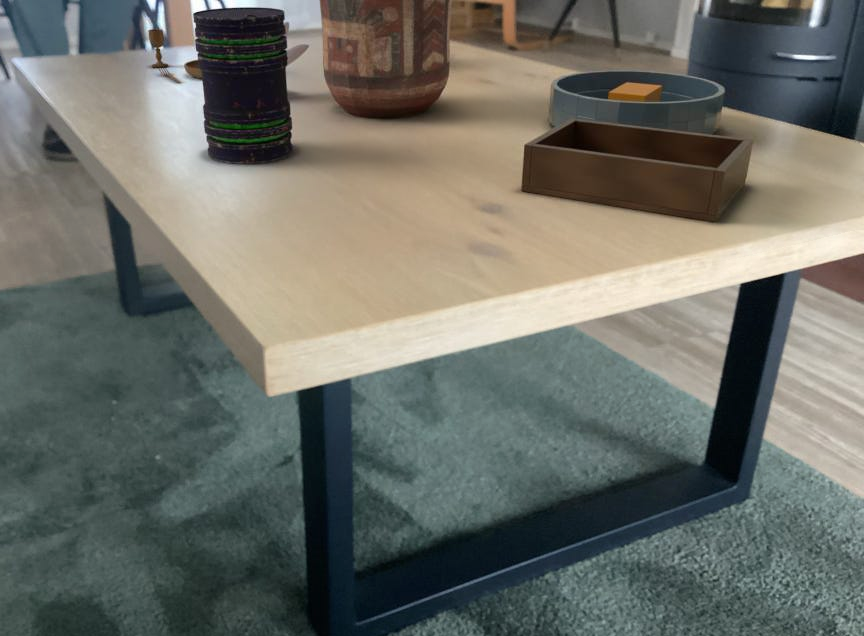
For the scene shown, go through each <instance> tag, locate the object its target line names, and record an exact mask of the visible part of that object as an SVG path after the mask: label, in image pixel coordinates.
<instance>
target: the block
mask: <svg viewBox="0 0 864 636" xmlns="http://www.w3.org/2000/svg"><path fill="white" fill-rule="evenodd" d="M661 90H662V86H661V85H650V84H640V83H629V82H627V83H625V84H623V85H621V86H619V87H617V88H616V89H614V90H612V91H610V92H609V95H608V100H618V101H634V102H660V97H661Z"/></svg>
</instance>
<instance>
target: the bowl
mask: <svg viewBox="0 0 864 636" xmlns="http://www.w3.org/2000/svg"><path fill="white" fill-rule="evenodd" d="M627 82H629V83H640V84H650V85H661V86H662V90H661V97H660V102H634V101H618V100H608V95H609V92H610V91H612V90H614V89H616V88H617V87H619V86H621V85H623V84H625V83H627ZM549 91H550V92H549V103H548V104H549V105H548V106H549V107H548V115H547V117H548V119H547V120H548V121H549V123H550V125H551V126H553V127H554V128H555V127H557V126H559V125H560V124H562V123H564V122H566V121H568V120H569V119H571V118H572V119H581V120H589V121H598V122H607V123H615V124H624V125H632V126H641V127H650V128H658V129H667V130H675V131H684V132H693V133H701V134H710V135H714V134H715V132H717V131H718V130H719V129H720V123H721V117H722V112H723V106H724V102H725V101H724V99H725V94H726V90H725V87H724V86H723V85H721V84H719V83H718V82H715V81H713V80H709V79H707V78H702V77H697V76H693V75H688V74H680V73H673V72H664V71H652V70H634V69H633V70H630V69H629V70H628V69H627V70H626V69H625V70H624V69H623V70H619V69H617V70H614V69H613V70H592V71H583V72H574V73H570V74H565V75H561V76H559V77H556V78H555V79H553V80H552V82H551V83H550V90H549Z"/></svg>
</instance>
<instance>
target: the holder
mask: <svg viewBox="0 0 864 636" xmlns="http://www.w3.org/2000/svg"><path fill="white" fill-rule="evenodd" d="M753 145H754V139H752V138H743V137H734V136H725V135H717V134H716V135H715V134H711V135H710V134H701V133H693V132H684V131H675V130H667V129H658V128H650V127H641V126H632V125H624V124H615V123H607V122H598V121H589V120H581V119H572V118H571V119H569V120H568V121H566V122H564V123H562V124H560V125H559V126H557V127H555V126H554V127H553V128H551V129H549V130H548V131H546V132H544V133H543V134H541V135H539V136H537V137H536V138H533V139H532V140H530V141H528V142H526V143H524V146H523V158H522V173H521V174H522V175H521V176H522V177H521V187H520V190H521V192H527V193H532V194H538V195H545V196H550V197H557V198H563V199H568V200H569V199H570V200H575V201H583V202H588V203H592V204H593V203H594V204H600V205H605V206H613V207H617V208H626V209H632V210H638V211H642V212H643V211H644V212H649V213H655V214H663V215H668V216H675V217H679V218H680V217H681V218H685V219H687V218H688V219H693V220H700V221H705V222H712V223H716V222H717V220H719V218H720V217H721V216H722V214H723V213H724V212H725V211H726V209H727V208H728V207H729V206H730V205H731V203H732V202H733V201H734V199H735V198H736V197H737V196H738V194H739V193H740V192H741V191H742V189H743V188H744V187H745V186H746V180H747V178H748V177H747V175H748V171H749V166H750V161H751V156H752V150H753Z"/></svg>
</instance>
